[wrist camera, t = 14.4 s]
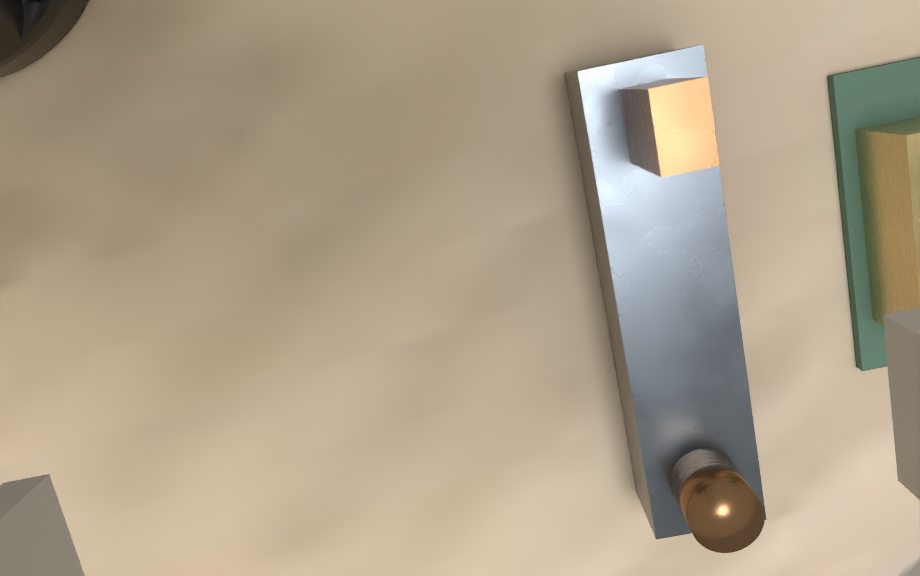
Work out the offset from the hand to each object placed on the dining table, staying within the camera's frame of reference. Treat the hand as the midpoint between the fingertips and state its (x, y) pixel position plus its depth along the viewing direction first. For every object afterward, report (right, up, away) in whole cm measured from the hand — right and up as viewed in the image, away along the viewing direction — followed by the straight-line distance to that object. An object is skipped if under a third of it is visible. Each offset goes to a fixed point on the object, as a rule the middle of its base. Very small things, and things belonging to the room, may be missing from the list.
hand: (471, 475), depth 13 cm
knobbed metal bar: (+9, +3, +27) cm, 28 cm away
